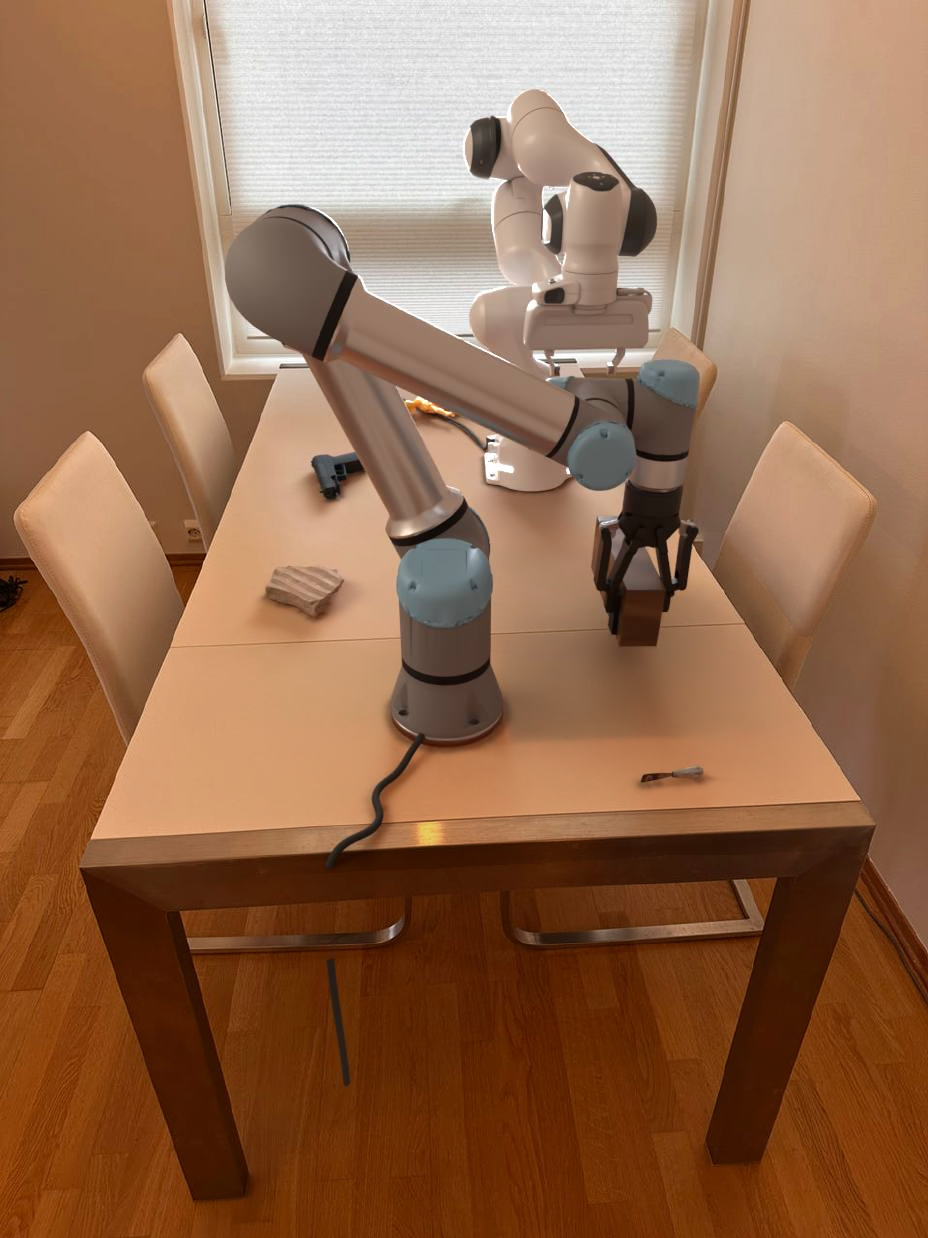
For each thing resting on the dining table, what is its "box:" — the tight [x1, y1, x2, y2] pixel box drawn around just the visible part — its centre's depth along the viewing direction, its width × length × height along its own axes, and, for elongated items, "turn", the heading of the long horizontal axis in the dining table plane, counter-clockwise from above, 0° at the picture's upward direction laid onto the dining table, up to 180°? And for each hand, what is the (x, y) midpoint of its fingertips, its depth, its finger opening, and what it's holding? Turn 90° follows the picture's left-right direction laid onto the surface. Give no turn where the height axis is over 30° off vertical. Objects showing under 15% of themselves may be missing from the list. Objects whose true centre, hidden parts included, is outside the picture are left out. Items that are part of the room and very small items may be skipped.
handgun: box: [310, 451, 366, 500], centre depth 187 cm, size 3×17×12 cm
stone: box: [264, 565, 345, 618], centre depth 147 cm, size 13×12×3 cm
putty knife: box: [640, 765, 705, 784], centre depth 109 cm, size 1×8×2 cm, turn 103°
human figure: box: [404, 396, 456, 418], centre depth 225 cm, size 20×20×4 cm
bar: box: [590, 515, 666, 648], centre depth 134 cm, size 24×5×9 cm, turn 3°
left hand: (633, 629), depth 130 cm, fingers closed on bar, 5 cm apart
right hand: (582, 375), depth 148 cm, fingers open, 8 cm apart
